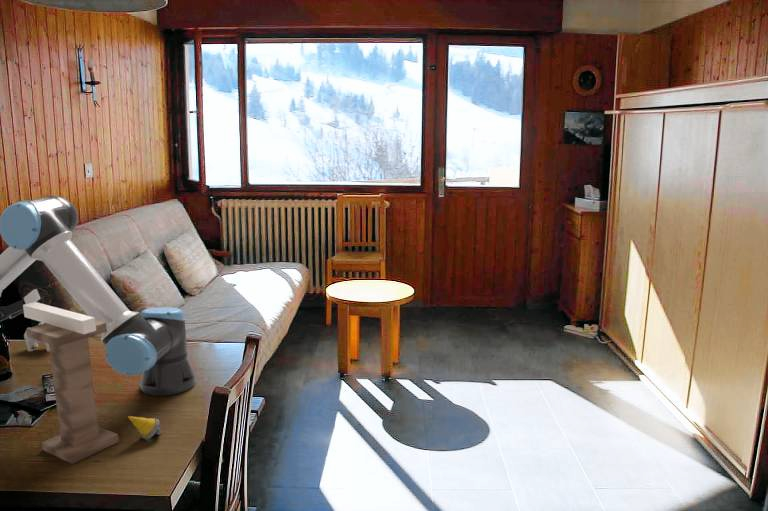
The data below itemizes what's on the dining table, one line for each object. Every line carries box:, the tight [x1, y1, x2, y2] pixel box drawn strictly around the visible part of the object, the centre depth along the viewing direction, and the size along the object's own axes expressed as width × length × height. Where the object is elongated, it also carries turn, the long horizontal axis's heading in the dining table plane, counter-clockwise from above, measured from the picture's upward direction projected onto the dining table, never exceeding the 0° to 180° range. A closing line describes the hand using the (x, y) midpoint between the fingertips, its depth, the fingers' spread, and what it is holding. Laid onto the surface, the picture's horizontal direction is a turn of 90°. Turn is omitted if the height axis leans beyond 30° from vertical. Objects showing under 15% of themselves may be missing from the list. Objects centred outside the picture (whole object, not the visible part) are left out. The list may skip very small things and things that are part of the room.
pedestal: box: [25, 320, 120, 465], centre depth 155 cm, size 12×12×30 cm
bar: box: [23, 301, 96, 334], centre depth 153 cm, size 24×3×3 cm, turn 57°
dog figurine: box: [23, 322, 50, 353], centre depth 222 cm, size 5×13×11 cm, turn 88°
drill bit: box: [127, 415, 162, 441], centre depth 161 cm, size 5×5×10 cm
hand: (10, 299), depth 167 cm, fingers open, 13 cm apart
